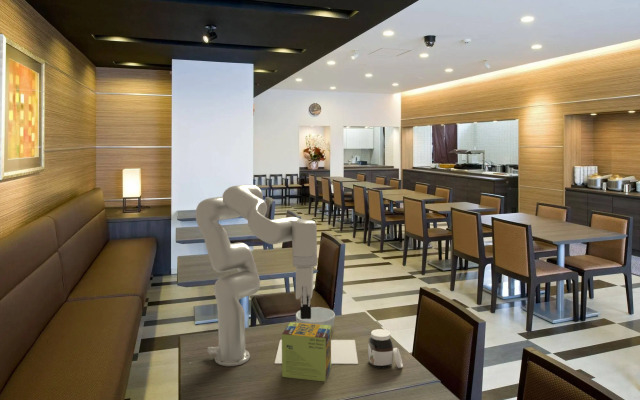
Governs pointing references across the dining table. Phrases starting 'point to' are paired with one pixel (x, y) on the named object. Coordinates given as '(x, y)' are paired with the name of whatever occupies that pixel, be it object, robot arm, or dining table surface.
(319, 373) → the protein box
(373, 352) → the spread jar
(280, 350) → the display mat
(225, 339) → the robot arm
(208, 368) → the dining table surface
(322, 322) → the cereal bowl
